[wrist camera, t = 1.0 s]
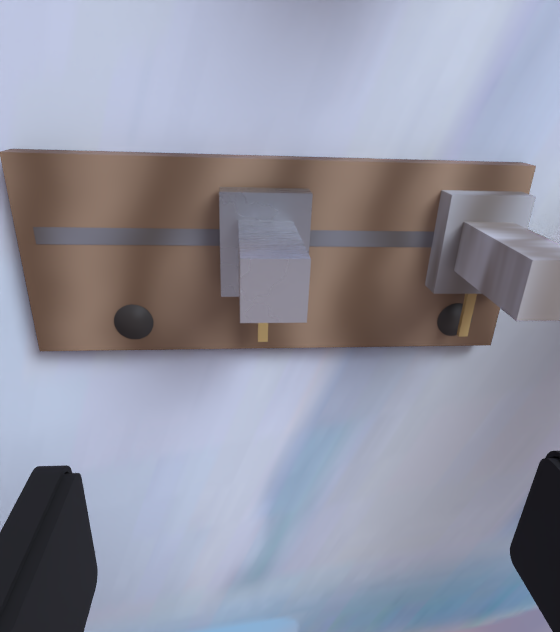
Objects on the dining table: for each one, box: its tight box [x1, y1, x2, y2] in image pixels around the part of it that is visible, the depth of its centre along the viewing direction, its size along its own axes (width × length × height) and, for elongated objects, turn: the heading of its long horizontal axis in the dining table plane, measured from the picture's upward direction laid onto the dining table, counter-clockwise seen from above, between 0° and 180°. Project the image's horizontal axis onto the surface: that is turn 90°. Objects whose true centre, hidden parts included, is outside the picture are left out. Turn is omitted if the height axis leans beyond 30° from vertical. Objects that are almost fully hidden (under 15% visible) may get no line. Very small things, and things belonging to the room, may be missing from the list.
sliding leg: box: [219, 187, 313, 342], centre depth 25 cm, size 5×9×8 cm, turn 178°
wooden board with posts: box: [0, 149, 560, 351], centre depth 26 cm, size 30×12×10 cm, turn 88°
